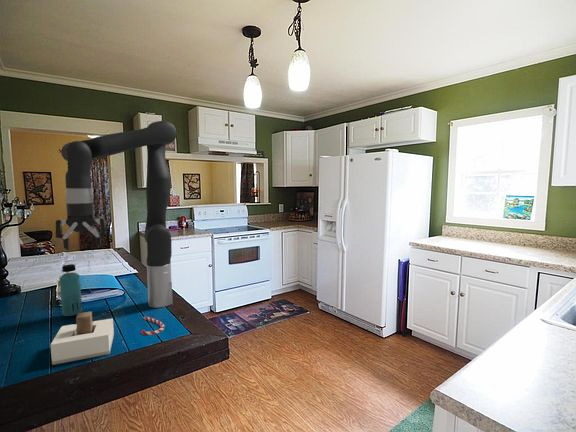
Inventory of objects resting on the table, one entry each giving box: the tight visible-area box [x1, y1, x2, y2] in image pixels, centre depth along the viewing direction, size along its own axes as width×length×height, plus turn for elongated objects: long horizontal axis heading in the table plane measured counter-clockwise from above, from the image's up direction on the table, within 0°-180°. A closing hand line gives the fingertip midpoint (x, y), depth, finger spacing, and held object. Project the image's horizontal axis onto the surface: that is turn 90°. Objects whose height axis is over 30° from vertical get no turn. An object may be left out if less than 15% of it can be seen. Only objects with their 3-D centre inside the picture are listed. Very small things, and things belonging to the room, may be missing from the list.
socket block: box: [50, 318, 115, 366], centre depth 94 cm, size 14×12×6 cm
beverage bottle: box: [58, 263, 83, 317], centre depth 116 cm, size 6×7×20 cm
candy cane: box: [140, 316, 165, 336], centre depth 110 cm, size 8×1×15 cm
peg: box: [75, 311, 93, 335], centre depth 94 cm, size 4×4×10 cm
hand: (83, 248), depth 106 cm, fingers open, 8 cm apart
